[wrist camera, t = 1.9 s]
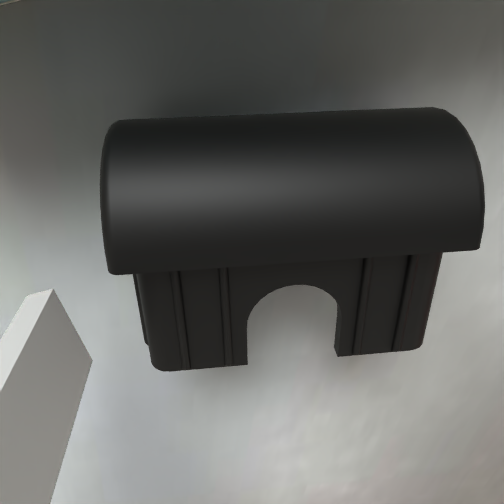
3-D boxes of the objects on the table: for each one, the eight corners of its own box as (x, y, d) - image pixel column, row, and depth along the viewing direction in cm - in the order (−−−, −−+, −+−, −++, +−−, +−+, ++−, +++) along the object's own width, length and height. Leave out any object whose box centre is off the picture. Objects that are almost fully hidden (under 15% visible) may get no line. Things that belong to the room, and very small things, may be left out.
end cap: (402, 87, 16) (516, 136, 10) (377, 254, 20) (453, 361, 14) (125, 98, 16) (80, 156, 10) (151, 270, 19) (130, 390, 13)
